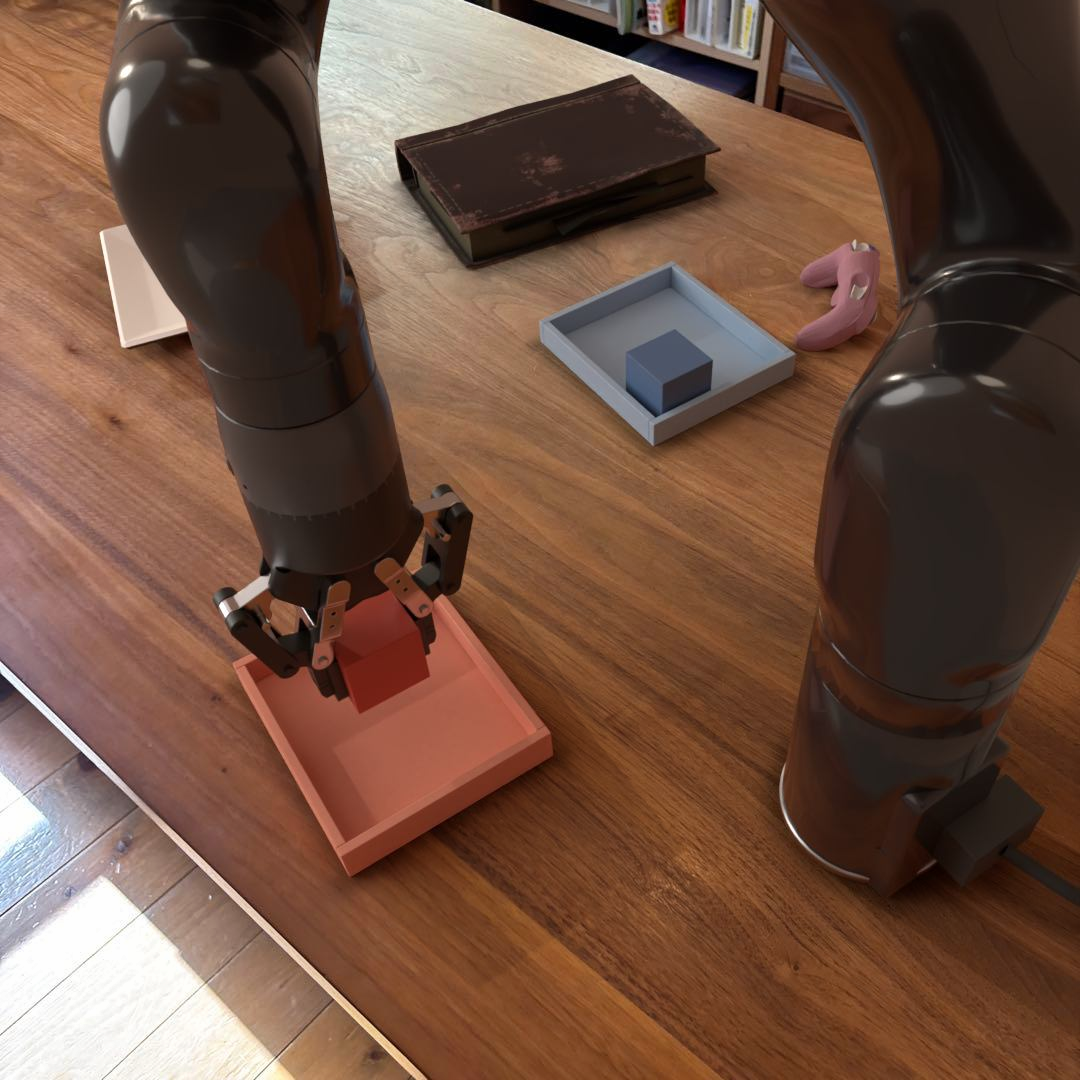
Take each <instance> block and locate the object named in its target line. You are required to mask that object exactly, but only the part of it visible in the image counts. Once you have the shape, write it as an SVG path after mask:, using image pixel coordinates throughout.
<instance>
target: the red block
mask: <svg viewBox="0 0 1080 1080" xmlns="http://www.w3.org/2000/svg"><path fill="white" fill-rule="evenodd" d="M334 656H335V658H336V659H337V661H338V663H339V666H340V669H341V672H342V675H343V678H344V681H345V684H346V687H347V690H348V693H349V698H350V700H351V702H352V703H353V705H354V706H355V708H356V710H357V711H358V713H359V714H361V713H363V712H365V711H367V710H369V709H371V708H373V707H374V706H376V705H378V704H380V703H382V702H384V701H386V700H388V699H389V698H391V697H393V696H395V695H397V694H399V693H401V692H402V691H404V690H406V689H408V688H410V687H412V686H414V685H416V684H417V683H419V682H421V681H423V680H425V679H427V678H429V677H430V673H429V669H428V664H427V660H426V656H425V651H424V647H423V643H422V638H421V634H420V629H419V628H418V626H417V625H416V624H415V622H414V621H413V619H412V618H411V617H410V615H409V614H408V612H407V611H406V609H405V608H404V607H403V605H402V604H401V602H400V601H399V600H398V598H397V597H396V596H395V595H394V594H393V593H392V591H391V590H388V591H386V592H384V593H382V594H380V595H378V596H375V597H372V598H369V599H365V600H363V601H362V602H360V603H359V604H357V605H356V606H355V607H353V608H352V609H351V610H349V611H347V612H345V614H344V621H343V629H342V636H341V637H340V638H336V644H335V652H334Z"/></svg>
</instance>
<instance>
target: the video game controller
mask: <svg viewBox="0 0 1080 1080" xmlns="http://www.w3.org/2000/svg"><path fill="white" fill-rule="evenodd" d="M880 253H881V252H880V250H879V249H878V248H876V247H875V246H873V245H872V244H867V243H866V242H858V241H857V239H853V241H849V242H848V241H847V242H846V243H844V244H842V245H840V246H839V247H838V248H836V249H834V250H833V251H832V252H830V253H828V254H826V255H824V256H822V257H819V258H817V259H816V260H814V261H812V262H811V263H809V264H807V265H806V266H805V267H804V268H803V269H802V271H801V272H800V275H799V283H800V284H801V285H803V286H806V287H811V288H816V289H824V288H829V287H833V286H835V285H837V287H836V288H835V291H834V292H833V293H832V297H831V298H830V299H831V300H830V306H831V307H832V309H831V310H829V311H828V312H827V313H825V314H824V315H822V316H820V317H819V318H817V319H815V320H813V321H811V322H810V323H807V324H806V325H804V326H803V327H802V328H801V329H800V330H798V332H796V334H795V337H794V345H795V347H796V348H798V349H800V350H801V351H802V350H803V351H809V352H820V351H826V350H829V349H831V348H834V347H837V346H838V345H841V343H843V342H845V341H847V340H849V339H850V338H851V337H853V336H857V335H860V334H861V333H862V332H863V331H865V329H866V328H867V327H869V326H871V325H872V324H874V323H875V322H876V320H877V316H878V311H877V308H878V305H879V296H878V294H877V290H878V285H879V281H880V273H881V271H880V270H881V264H880V263H881V262H880Z"/></svg>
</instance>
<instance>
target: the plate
mask: <svg viewBox="0 0 1080 1080" xmlns="http://www.w3.org/2000/svg"><path fill="white" fill-rule="evenodd" d="M99 237H100V242H101V248H102V253H103V258H104V264H105V269H106V275H107V279H108V284H109V289H110V294H111V300H112V305H113V310H114V315H115V320H116V326H117V331H118V335H119V336H118V337H119V342H120V347H121V348H124V349H127V350H133V349H138V348H140V347H144V346H148V345H151V344H156V343H159V342H162V341H163V342H164V341H166V340H170V339H174V338H178V337H182V336H186V335H189V333H188V330H187V326H186V322H185V318H184V317H183V315H182V314H181V313H180V312H179V310H178V309H177V308H176V307H175V305H174V304H173V302H172V301H171V300H170V298H169V297H168V296H167V294H166V292H165V291H164V289H163V287H162V286H161V284H160V282H159V281H158V279H157V277H156V276H155V274H154V273H153V271H152V269H151V268H150V266H149V265H148V263H147V261H146V260H145V258H144V257H143V255H142V253H141V252H140V250H139V248H138V246H137V245H136V243H135V241H134V239H133V237H132V236H131V234H130V232H129V230H128V228H127V226H126V224H122V225H117V226H113V227H109V228H105V229H103V230H101V231H100V232H99Z"/></svg>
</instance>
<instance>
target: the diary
mask: <svg viewBox="0 0 1080 1080" xmlns="http://www.w3.org/2000/svg"><path fill="white" fill-rule="evenodd" d="M640 80H641V79H638V78H637V77H636V76H635V75H634V74H633V73H630V74H627V75H624V76H620V77H618V78H614V79H610V80H607V81H604V82H601V83H598V84H595V85H592V86H589V87H586V88H582V89H579V90H576V91H572V92H569V93H566V94H562V95H561V94H560V95H557V96H553V97H549V98H545V99H541V100H537V101H533V102H529V103H525V104H521V105H516V106H513V107H510V108H506V109H503V110H500V111H496V112H493V113H491V114H488V115H484V116H481V117H478V118H476V119H475V118H474V119H472V120H468V121H465V122H462V123H458V124H455V125H452V126H448V127H443V128H439V129H435V130H430V131H427V132H422V133H418V134H414V135H410V136H406V137H401V138H397V139H394V142H393V143H394V145H393V146H394V151H395V153H394V154H395V160H396V164H397V170H398V175H399V179H400V182H401V184H402V185H403V186H404V188H405V189H406V190H407V192H408V193H409V195H410V196H411V197H412V199H413V201H414V202H415V203H416V205H417V206H418V207H419V208H420V210H421V212H422V213H423V215H425V217H426V218H427V220H428V221H429V222H430V224H431V225H432V226H433V229H435V231H436V232H437V234H438V235H439V236H440V238H441V239H442V240H443V242H444V243H445V245H446V246H447V247H448V248H449V250H450V251H451V252H452V253H453V255H454V256H455V257H456V259H457V260H458V261H459V262H460V264H461V265H462V267H465V268H467V269H479V268H482V267H487V266H490V265H494V264H497V263H500V262H501V263H502V262H504V261H507V260H510V259H515V258H518V257H521V256H525V255H527V254H532V253H533V252H534V253H535V252H538V251H540V250H543V249H546V248H550V247H552V246H556V245H558V244H562V243H565V242H568V241H570V240H572V239H575V238H579V237H581V236H584V235H586V234H590V233H593V232H597V231H601V230H606V229H609V228H613V227H616V226H620V225H624V224H628V223H629V222H632V221H636V220H639V219H641V218H643V216H644V215H648V214H652V213H655V212H661V211H665V210H670V209H674V208H677V207H680V206H683V205H686V204H690V203H693V202H697V201H700V200H703V199H706V198H709V197H712V196H715V195H719V191H718V190H716V188H714V186H712V185H711V184H710V183H709V182H708V181H707V180H706V161H707V156H709V155H712V154H717V153H720V152H721V151H722V148H721V147H720V146H719V145H718V144H716V143H715V142H714V141H713V140H712V139H711V138H710V137H709V136H708V135H707V134H705V132H704V131H702V130H701V129H700V128H699V127H698V126H697V125H696V124H694V123H693V122H692V121H691V120H689V118H688V117H686V116H685V115H684V114H683V113H682V112H680V110H678V109H677V108H676V107H675V106H674V105H672V104H671V103H669V102H668V101H667V100H666V99H664V97H662V96H661V95H659V94H658V93H656V92H655V90H653V89H651V88H650V87H649V86H648V85H646V84H644V82H642V81H640Z"/></svg>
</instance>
